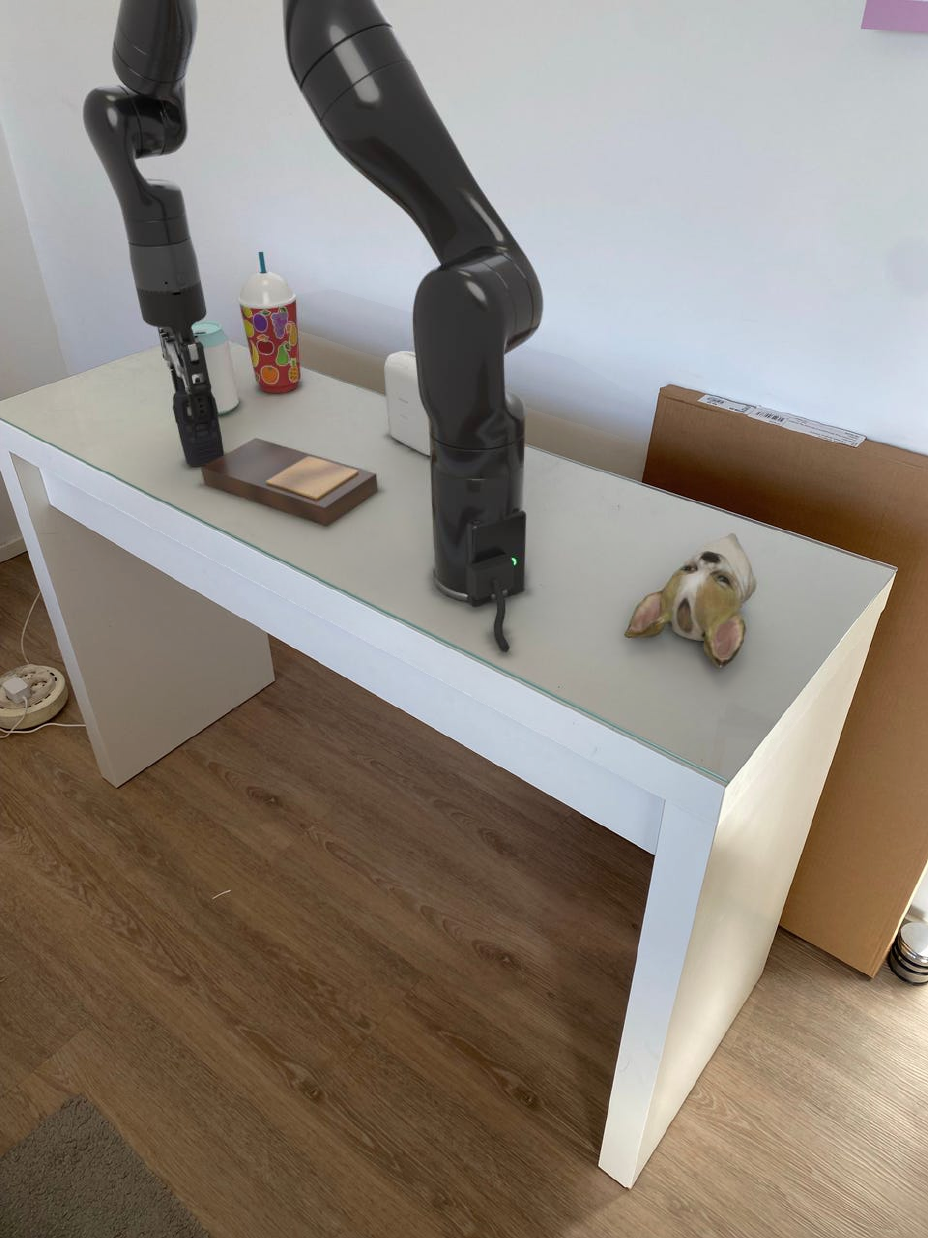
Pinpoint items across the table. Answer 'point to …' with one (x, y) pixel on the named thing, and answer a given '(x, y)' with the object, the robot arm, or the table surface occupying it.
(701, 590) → the ceramic sculpture
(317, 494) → the walnut board
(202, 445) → the two-way radio
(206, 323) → the can
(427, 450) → the photo printer
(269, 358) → the smoothie
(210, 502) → the table surface
